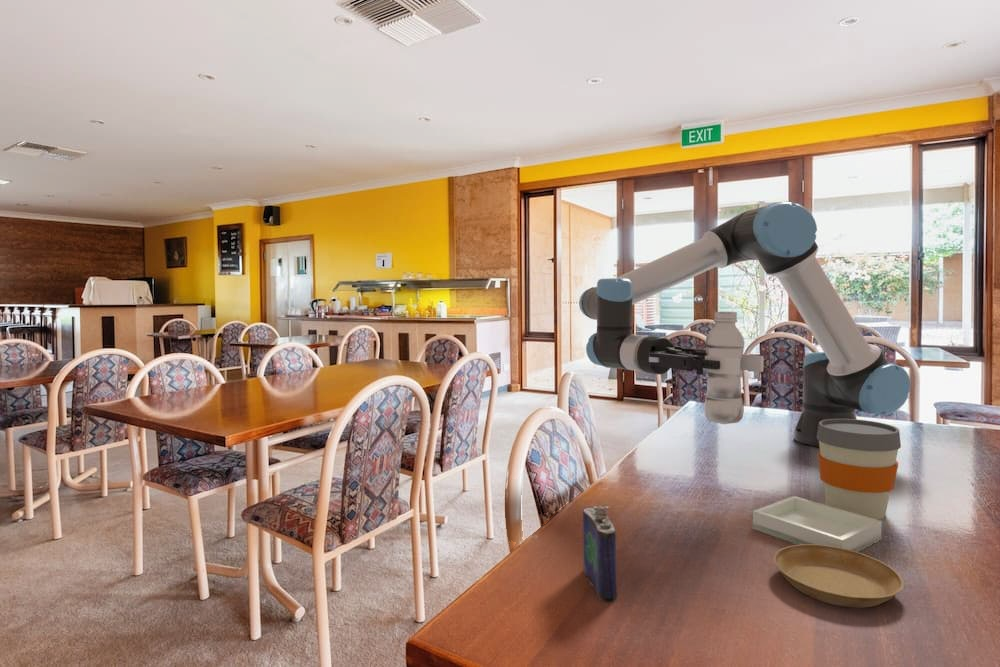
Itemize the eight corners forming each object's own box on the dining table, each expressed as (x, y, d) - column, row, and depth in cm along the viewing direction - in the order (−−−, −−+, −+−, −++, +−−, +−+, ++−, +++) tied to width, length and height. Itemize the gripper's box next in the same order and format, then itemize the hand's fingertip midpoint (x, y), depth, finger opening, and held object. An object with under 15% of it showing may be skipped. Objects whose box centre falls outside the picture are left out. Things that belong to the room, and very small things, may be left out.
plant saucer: (932, 606, 73) (933, 585, 73) (837, 627, 69) (837, 605, 68) (833, 555, 87) (833, 538, 87) (749, 570, 83) (749, 552, 82)
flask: (580, 569, 83) (580, 494, 82) (600, 567, 83) (600, 493, 83) (600, 603, 74) (600, 520, 73) (623, 602, 74) (623, 519, 73)
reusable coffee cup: (870, 529, 95) (873, 438, 94) (799, 505, 106) (801, 423, 105) (914, 515, 101) (917, 429, 100) (842, 493, 112) (844, 415, 111)
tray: (793, 512, 103) (793, 495, 103) (881, 540, 91) (881, 521, 91) (752, 528, 96) (753, 510, 96) (842, 560, 85) (842, 540, 84)
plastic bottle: (746, 428, 102) (749, 312, 101) (705, 426, 104) (708, 312, 102) (740, 420, 109) (742, 311, 107) (701, 418, 110) (703, 311, 109)
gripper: (679, 368, 126) (782, 382, 106) (614, 376, 115) (715, 392, 96) (679, 333, 125) (783, 340, 106) (614, 338, 115) (715, 346, 96)
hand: (750, 365), depth 101 cm, fingers closed on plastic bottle, 6 cm apart
